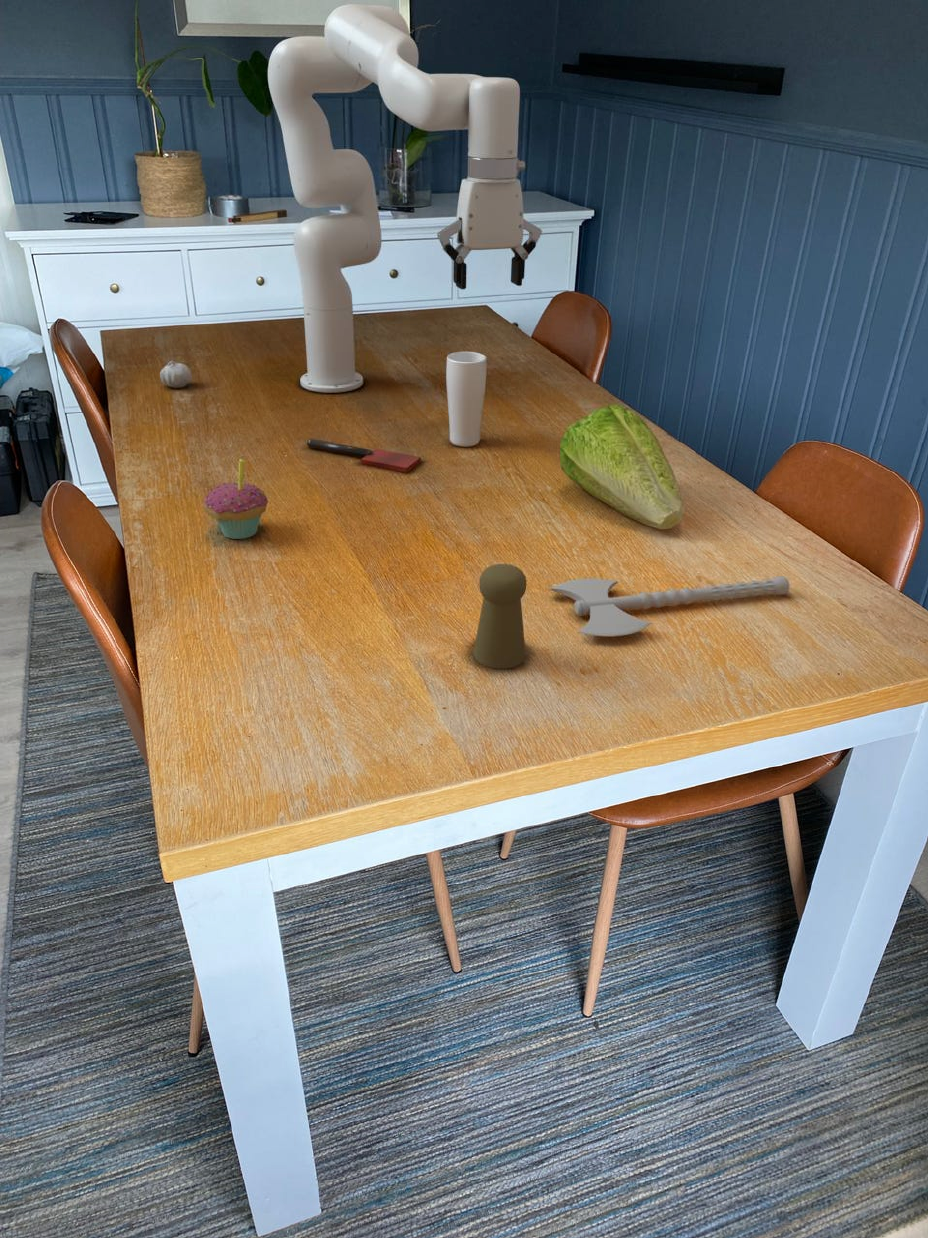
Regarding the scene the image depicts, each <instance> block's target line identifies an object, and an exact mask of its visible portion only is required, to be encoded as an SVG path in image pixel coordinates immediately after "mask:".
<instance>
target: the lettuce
mask: <svg viewBox="0 0 928 1238" xmlns="http://www.w3.org/2000/svg"><path fill="white" fill-rule="evenodd" d="M559 461H560V466H561V471H562V472H563V473H564V474H565V475H566V476H567V477H568V479H569V480H571V481H572V482H573V483H575V484H576V485H577V486H579V487H581V489H583V490H584V491H586V492H587V493H588V494H590V495H591V496H592V497H594V499H597V500H599V501H601V502H603V503H604V504H607V506H610V508H613V509H614V510H616V511H617V512H618V513H620V514H622V515H623V516H625V517H627V518H630V519H632V520H634V521H636V522H638V523H641V524H643V525H645V526H648V527H651V528H653V529H658V530H663V531H664V530H669V529H672V528H673V527H675V526H677V524H679V522H680V521H681V520H682V518H683V516H684V502H683V496H682V493H681V490H680V485H679V483H678V480H677V477H676V474H675V471H674V470H673V468H672V466H671V464H670V462H669V460H668V458H667V457H666V454H665V452H664V450H663V448H662V446H661V444H660V442H659V440H658V438H657V437H656V435H655V434H654V433H653V431H652V430H651V429H650V427H649V426H648V424H647V423H646V422H645V421H644V419H642V418H641V417H639V415H637V414H636V413H635V412H633V411H632V410H631V409H630V408H628V407H625V406H623V405H620V404H616V403H615V404H611V405H608V406H604V407H601V408H598V409H596V410H593V411H592V412H591V413H588V414H587V415H586V416H585V417H583V418H581V419H580V420H578V421H576V422H574V423H572V424H571V425H569V426H568V427H567V430H566V431H565V432H564V434H563V436H562V437H561V440H560V442H559Z"/></svg>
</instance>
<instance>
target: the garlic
mask: <svg viewBox="0 0 928 1238" xmlns="http://www.w3.org/2000/svg"><path fill="white" fill-rule="evenodd" d="M159 377H160V380H161V382H162V384H164V385H165V386H166V387H167V386H168V387H169V388H172V389H173V388H175V389H181V388H184V387H186V386H187V385H188V384H189V383H190V382H191V380H192V372H191V370H190V368H189V366H187V365H186V364H184V363H179V362H175V361H174V360H170V361H169V362H168V363H167V365H165V366H164V367H163V368H162V369H161V370H160V371H159Z"/></svg>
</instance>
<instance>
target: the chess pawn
mask: <svg viewBox="0 0 928 1238" xmlns="http://www.w3.org/2000/svg"><path fill="white" fill-rule="evenodd" d="M478 584H479V585H478V588H479V591H480V594H481V596H482V597H483V599H482V604H481V609H480V610H481V611H480V615H479V620H478V626H477V629H476V630H477V631H476V637H475V641H474V646H473V654H472V655H473V658H474V660H475V661H476V662H478V663H479V664H480V665H482V666H484V667H487V668H491V669H495V670H496V669H497V670H505V669H506V670H507V669H512V668H515V667H518V666H519V665H521V664H522V663H523V662H524V661H525V660H526V643H525V631H524V622H523V621H524V619H523V610H522V609H523V608H522V598H523V597H524V595H525V593H526V589H527V578H526V575H525V574H524V572H523V570H522V569H520V568H519V567H518V566H515V565H512V564H508V563H496V564H492V565H489V566H487V567H485V569H484V570H483V571H482V573H480V577H479V582H478Z"/></svg>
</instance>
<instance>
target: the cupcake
mask: <svg viewBox="0 0 928 1238" xmlns="http://www.w3.org/2000/svg"><path fill="white" fill-rule="evenodd" d="M244 477H245V459H244V454H242V455H241V458H240V459H239V460H238V482H225V483H221V484H219V485H217V486H215V487H213V488H214V489H211V490H210V491H209V492H208V494H206V497H205V500H204V505H203V508H204V511H205V513H206V514H207V515H208V516H210V517H212V518H213V519H215V521H216V522H217V524H218V526H219V529H220V530H221V533H222V535H223V536H224V537H225V538H228V539H232V540H242V539H247V538H248V539H249V538H250V537H253V536H254V535H256V534H257V532H258V529H259V524H260V522H261V521H260V520H261V517H262V515H263V513H265V512H266V510H267V505H268V503H269V500H268V497H267V495H265V493H264V491H263V490H262V489H260V488H259V487H258V486H256V485H255V484H251V483H249V482H244Z"/></svg>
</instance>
